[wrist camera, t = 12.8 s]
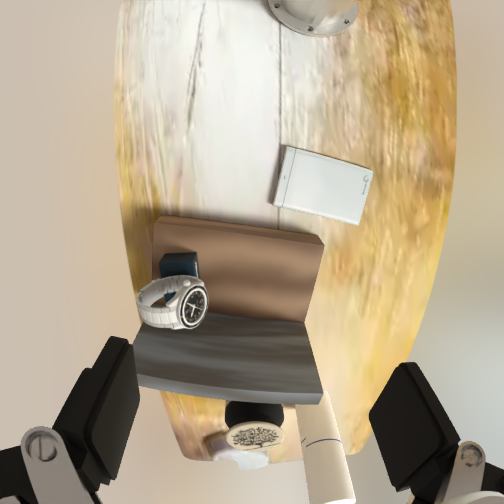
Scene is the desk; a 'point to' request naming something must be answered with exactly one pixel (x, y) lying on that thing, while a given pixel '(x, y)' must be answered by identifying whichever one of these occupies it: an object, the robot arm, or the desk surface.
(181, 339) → the display stand
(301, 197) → the hard drive
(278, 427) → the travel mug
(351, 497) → the cylindrical container
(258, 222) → the desk surface
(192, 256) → the watch
